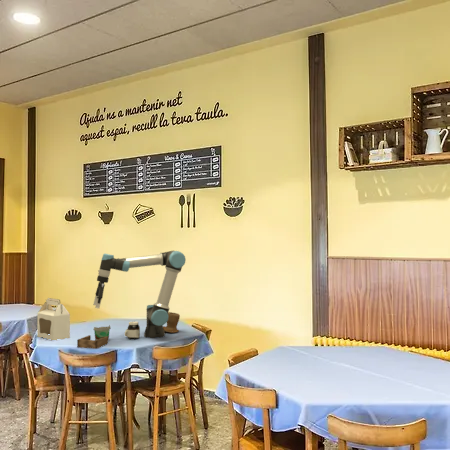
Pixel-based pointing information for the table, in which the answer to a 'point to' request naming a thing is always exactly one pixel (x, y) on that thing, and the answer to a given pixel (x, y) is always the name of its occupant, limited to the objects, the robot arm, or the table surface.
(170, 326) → the brown ankle boot
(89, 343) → the walnut pen
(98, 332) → the food container
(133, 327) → the spread jar
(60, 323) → the gable box
